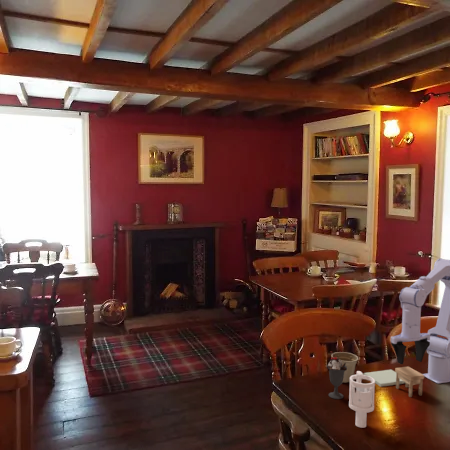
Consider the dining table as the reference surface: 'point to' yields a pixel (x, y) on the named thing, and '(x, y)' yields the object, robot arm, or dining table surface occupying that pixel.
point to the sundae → (336, 375)
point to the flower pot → (347, 363)
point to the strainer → (361, 397)
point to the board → (384, 377)
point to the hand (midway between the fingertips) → (409, 362)
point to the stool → (409, 378)
